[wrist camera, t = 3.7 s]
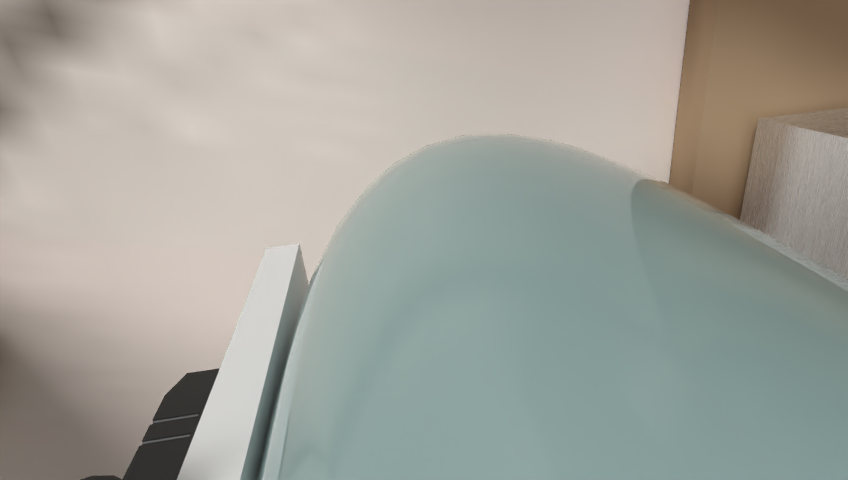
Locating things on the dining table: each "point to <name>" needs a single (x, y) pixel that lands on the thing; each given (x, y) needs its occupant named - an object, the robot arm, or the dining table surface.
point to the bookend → (802, 184)
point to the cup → (558, 332)
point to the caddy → (751, 84)
